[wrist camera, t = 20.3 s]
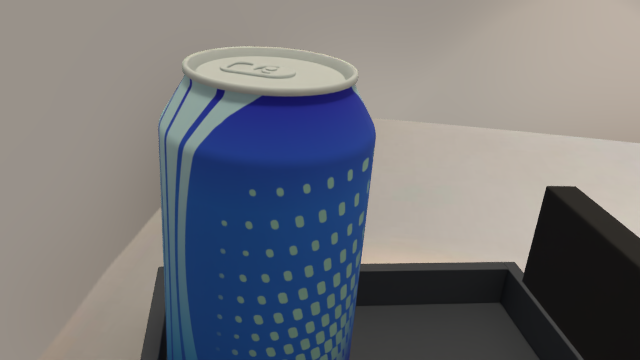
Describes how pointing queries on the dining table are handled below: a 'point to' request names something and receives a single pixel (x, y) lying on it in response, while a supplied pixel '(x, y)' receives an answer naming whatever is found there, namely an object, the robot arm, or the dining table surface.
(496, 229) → the dining table surface
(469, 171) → the dining table surface
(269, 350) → the beer can
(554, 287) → the robot arm
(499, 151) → the dining table surface
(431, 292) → the dark grey serving tray
